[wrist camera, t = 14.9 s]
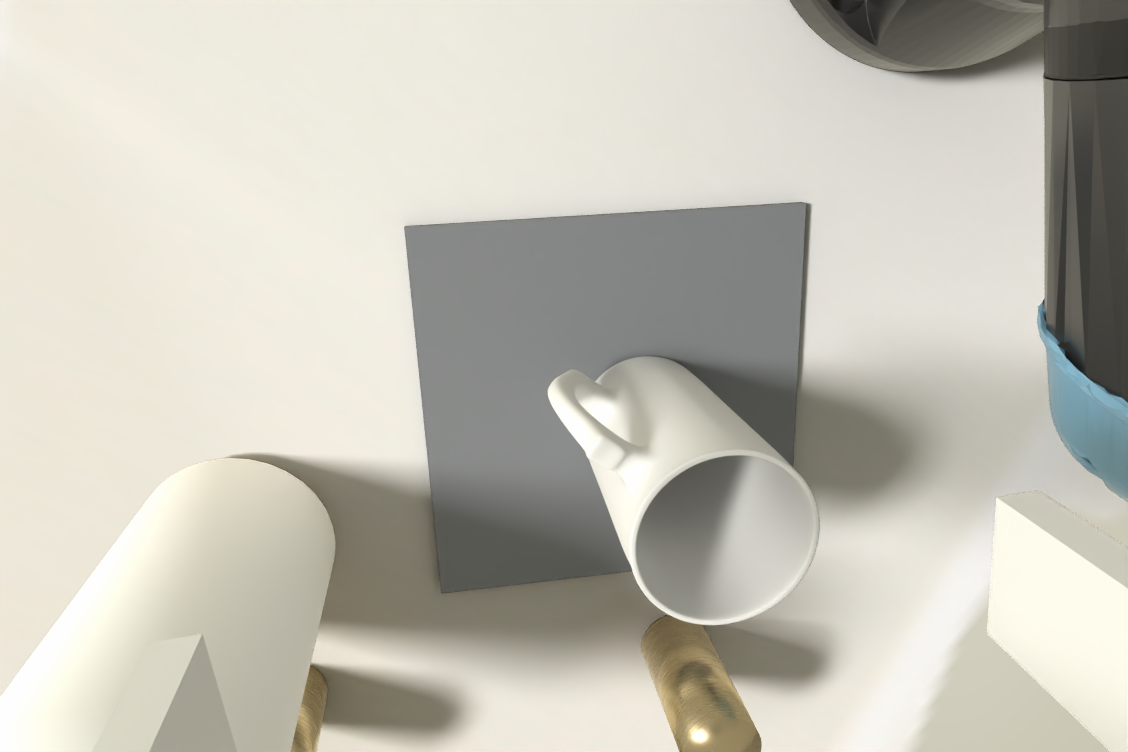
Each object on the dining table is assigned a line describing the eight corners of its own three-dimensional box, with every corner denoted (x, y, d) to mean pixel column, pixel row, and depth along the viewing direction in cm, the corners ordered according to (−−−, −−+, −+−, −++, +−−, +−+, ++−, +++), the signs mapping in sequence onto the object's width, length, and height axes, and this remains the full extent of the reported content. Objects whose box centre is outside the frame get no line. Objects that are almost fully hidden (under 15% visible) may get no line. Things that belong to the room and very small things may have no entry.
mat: (801, 202, 38) (806, 203, 37) (784, 548, 43) (788, 552, 43) (404, 226, 36) (404, 227, 35) (441, 587, 41) (441, 593, 41)
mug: (738, 399, 40) (858, 515, 29) (653, 505, 41) (736, 656, 30) (576, 280, 37) (637, 357, 26) (488, 398, 38) (510, 520, 27)
